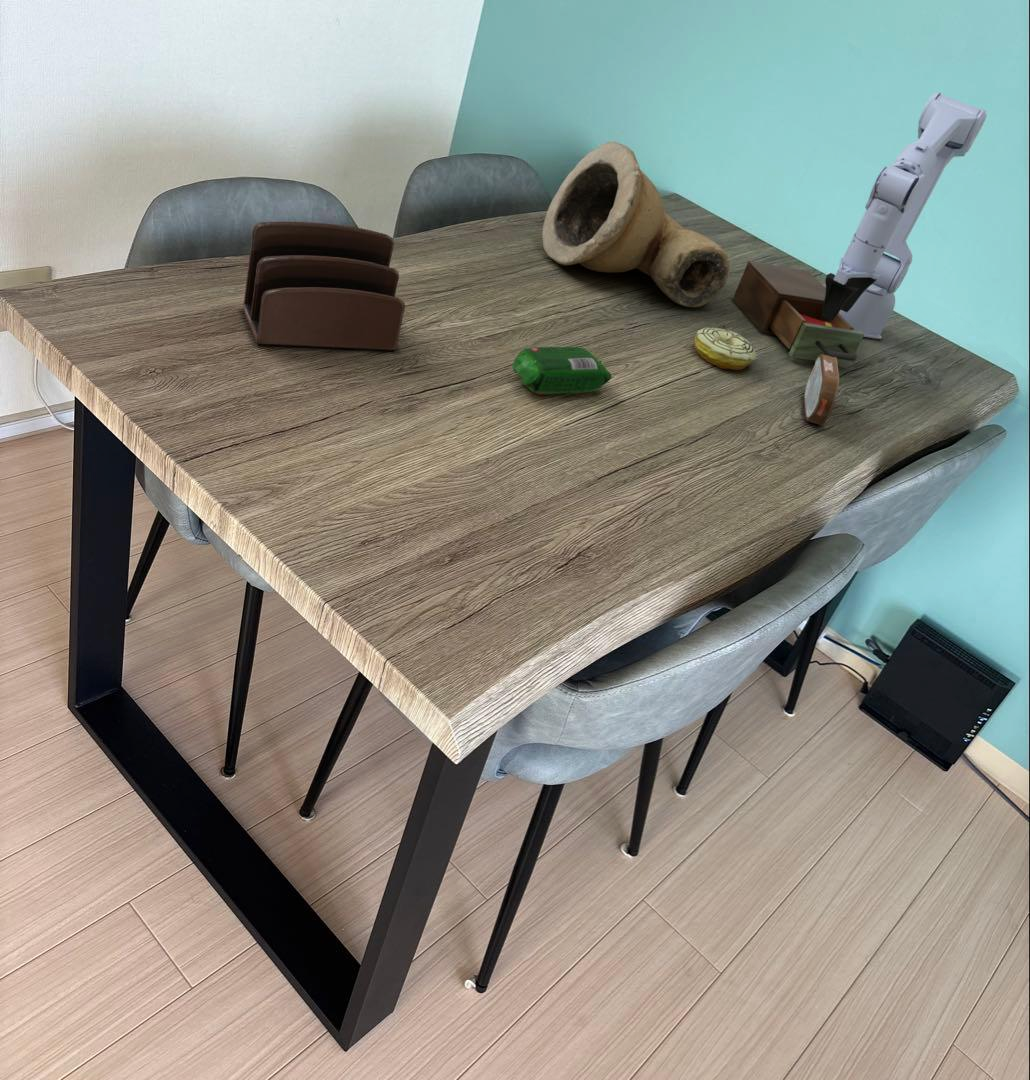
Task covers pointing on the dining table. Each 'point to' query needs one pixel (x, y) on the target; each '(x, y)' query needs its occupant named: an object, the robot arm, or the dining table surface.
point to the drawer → (814, 332)
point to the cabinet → (774, 291)
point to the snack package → (560, 370)
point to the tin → (821, 389)
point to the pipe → (629, 229)
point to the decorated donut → (724, 348)
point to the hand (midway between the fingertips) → (834, 313)
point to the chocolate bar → (816, 321)
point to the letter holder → (322, 287)
